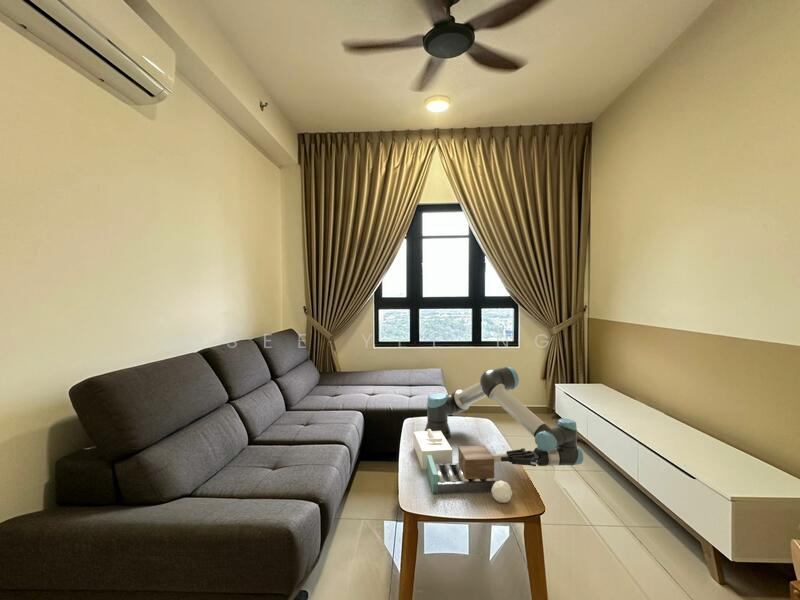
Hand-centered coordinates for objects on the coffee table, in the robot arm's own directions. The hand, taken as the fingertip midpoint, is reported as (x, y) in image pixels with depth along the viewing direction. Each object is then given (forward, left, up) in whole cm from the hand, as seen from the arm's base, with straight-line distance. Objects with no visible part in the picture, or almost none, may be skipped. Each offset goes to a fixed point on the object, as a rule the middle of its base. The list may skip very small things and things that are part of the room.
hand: (492, 458), depth 158 cm
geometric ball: (+15, -1, -11) cm, 18 cm away
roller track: (-1, -13, -10) cm, 17 cm away
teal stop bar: (-1, -26, -10) cm, 28 cm away
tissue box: (-27, -23, -11) cm, 37 cm away
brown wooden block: (-1, -7, -6) cm, 9 cm away
